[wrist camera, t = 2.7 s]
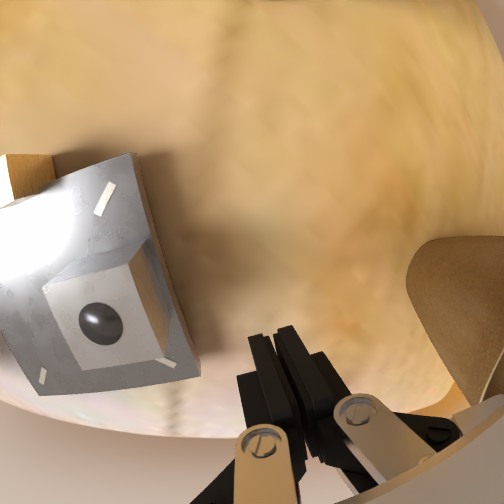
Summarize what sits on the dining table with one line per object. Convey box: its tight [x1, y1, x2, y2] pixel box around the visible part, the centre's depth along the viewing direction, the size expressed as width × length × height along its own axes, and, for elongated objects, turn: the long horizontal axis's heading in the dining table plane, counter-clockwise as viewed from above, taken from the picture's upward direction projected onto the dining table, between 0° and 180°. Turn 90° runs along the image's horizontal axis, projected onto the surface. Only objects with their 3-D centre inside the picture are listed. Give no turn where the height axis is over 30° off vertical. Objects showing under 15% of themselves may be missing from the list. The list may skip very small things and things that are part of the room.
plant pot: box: [406, 236, 504, 407], centre depth 20 cm, size 15×15×16 cm
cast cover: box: [42, 241, 171, 371], centre depth 17 cm, size 6×6×5 cm
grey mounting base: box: [0, 152, 201, 396], centre depth 18 cm, size 18×20×7 cm
